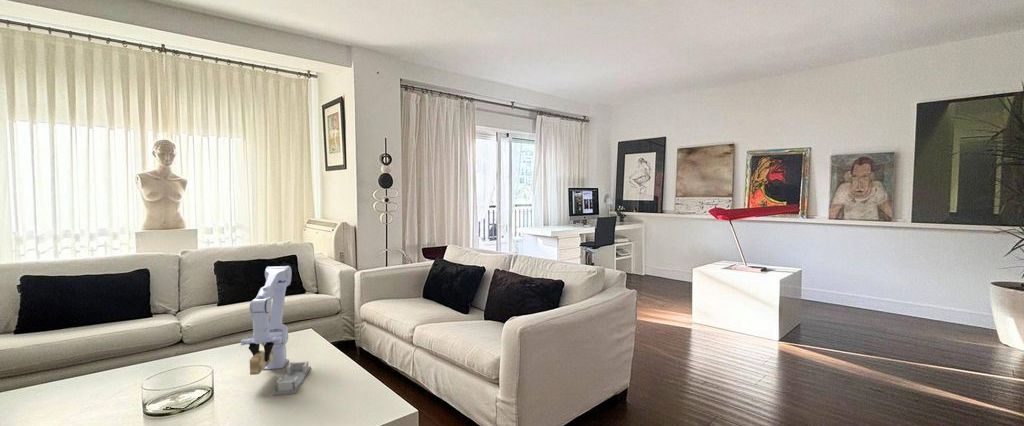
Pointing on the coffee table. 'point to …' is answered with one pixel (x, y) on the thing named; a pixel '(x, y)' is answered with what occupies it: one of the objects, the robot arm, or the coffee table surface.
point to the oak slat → (259, 361)
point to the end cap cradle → (292, 379)
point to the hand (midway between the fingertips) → (262, 361)
